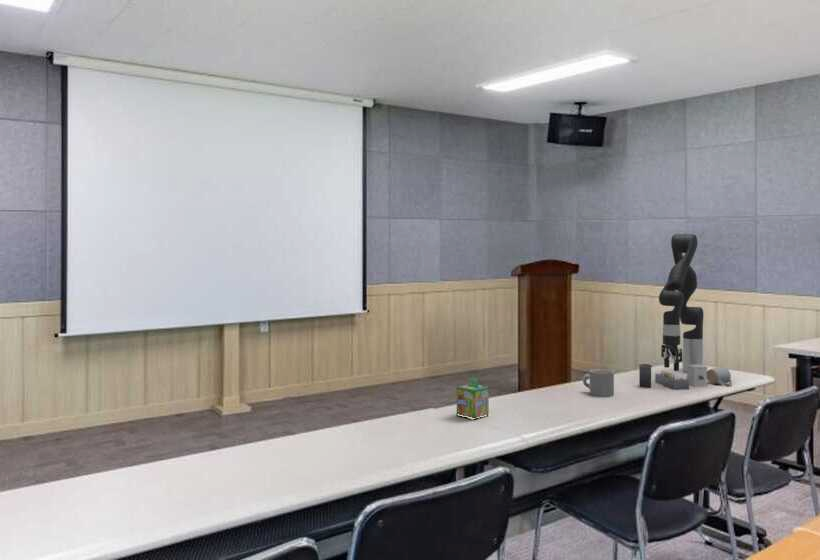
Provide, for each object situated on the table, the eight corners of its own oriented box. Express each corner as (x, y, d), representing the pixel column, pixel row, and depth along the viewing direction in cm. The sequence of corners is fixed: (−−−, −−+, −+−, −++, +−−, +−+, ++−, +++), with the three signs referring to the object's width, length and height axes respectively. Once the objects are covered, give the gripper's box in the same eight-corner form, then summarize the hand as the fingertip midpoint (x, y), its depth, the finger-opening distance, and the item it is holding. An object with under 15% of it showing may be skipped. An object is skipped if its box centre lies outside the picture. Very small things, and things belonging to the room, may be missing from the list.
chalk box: (455, 416, 242) (455, 378, 241) (471, 412, 248) (470, 374, 248) (474, 420, 235) (473, 381, 235) (489, 416, 242) (489, 377, 241)
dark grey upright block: (636, 385, 290) (636, 364, 290) (648, 385, 291) (648, 363, 290) (642, 388, 285) (642, 366, 284) (653, 387, 285) (653, 366, 285)
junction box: (686, 383, 293) (686, 364, 293) (699, 383, 294) (699, 364, 293) (695, 386, 286) (695, 367, 285) (708, 386, 286) (708, 367, 286)
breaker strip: (655, 382, 298) (655, 370, 297) (669, 381, 298) (669, 369, 298) (673, 389, 281) (673, 377, 280) (688, 389, 281) (688, 376, 281)
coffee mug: (618, 394, 274) (618, 371, 274) (605, 397, 268) (605, 374, 267) (592, 389, 284) (591, 367, 284) (578, 392, 278) (578, 370, 278)
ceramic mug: (704, 382, 294) (704, 366, 294) (718, 381, 297) (718, 365, 296) (722, 387, 284) (723, 370, 284) (736, 385, 287) (737, 369, 286)
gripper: (656, 332, 295) (656, 366, 296) (671, 336, 281) (671, 372, 282) (671, 331, 296) (671, 366, 297) (687, 335, 282) (687, 371, 282)
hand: (671, 369), depth 289 cm, fingers open, 8 cm apart
